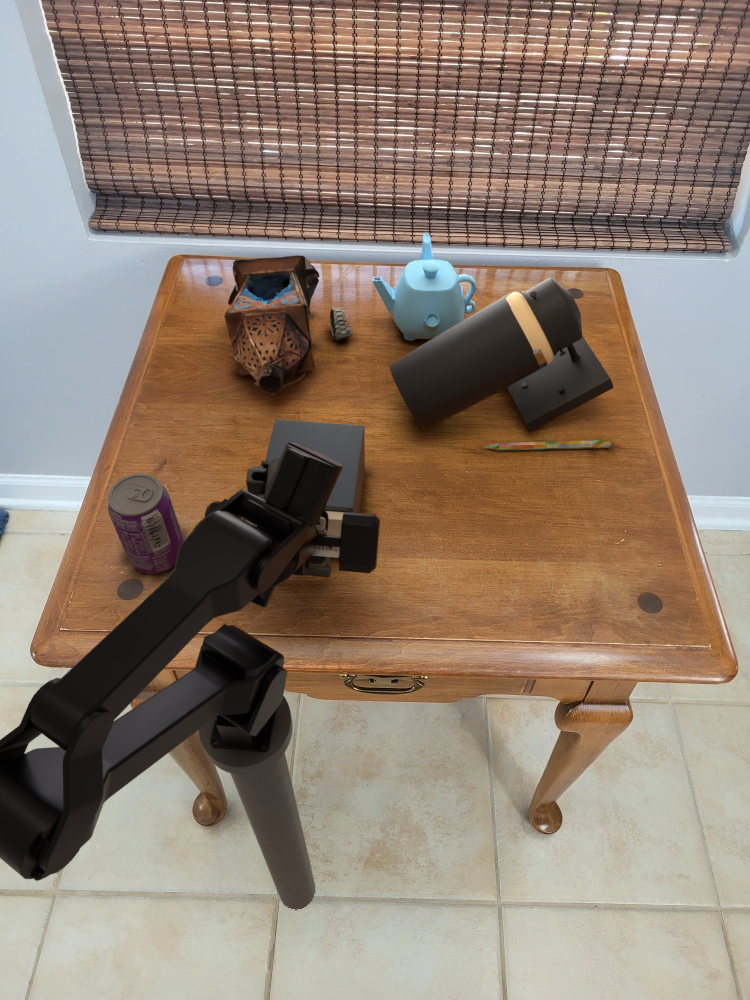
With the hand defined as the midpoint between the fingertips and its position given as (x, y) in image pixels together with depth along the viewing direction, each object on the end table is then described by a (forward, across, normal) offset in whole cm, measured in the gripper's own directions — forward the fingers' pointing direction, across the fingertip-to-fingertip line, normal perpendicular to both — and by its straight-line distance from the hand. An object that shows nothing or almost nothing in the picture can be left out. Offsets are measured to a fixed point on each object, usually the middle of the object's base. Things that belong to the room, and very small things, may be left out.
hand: (304, 527), depth 91 cm
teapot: (+39, -11, -30) cm, 50 cm away
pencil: (+21, -31, -11) cm, 39 cm away
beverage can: (+4, +19, +6) cm, 21 cm away
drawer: (+8, 0, +1) cm, 8 cm away
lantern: (+31, +12, -22) cm, 40 cm away
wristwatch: (+36, +2, -27) cm, 45 cm away
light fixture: (+27, -22, -17) cm, 39 cm away
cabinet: (+11, 0, -1) cm, 11 cm away
